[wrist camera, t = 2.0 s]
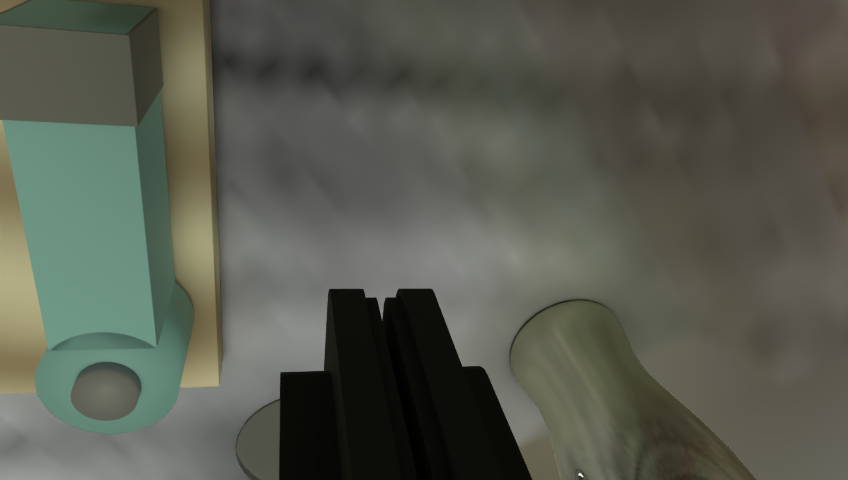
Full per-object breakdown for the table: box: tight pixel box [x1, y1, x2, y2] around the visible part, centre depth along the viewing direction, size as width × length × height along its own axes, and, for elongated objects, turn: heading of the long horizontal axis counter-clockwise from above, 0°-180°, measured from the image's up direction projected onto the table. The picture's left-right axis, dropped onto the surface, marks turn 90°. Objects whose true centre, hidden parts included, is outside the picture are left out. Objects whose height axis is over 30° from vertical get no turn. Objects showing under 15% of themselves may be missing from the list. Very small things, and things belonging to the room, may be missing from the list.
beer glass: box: [510, 300, 757, 480], centre depth 26 cm, size 7×7×15 cm
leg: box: [0, 0, 194, 434], centre depth 20 cm, size 14×4×5 cm, turn 173°
